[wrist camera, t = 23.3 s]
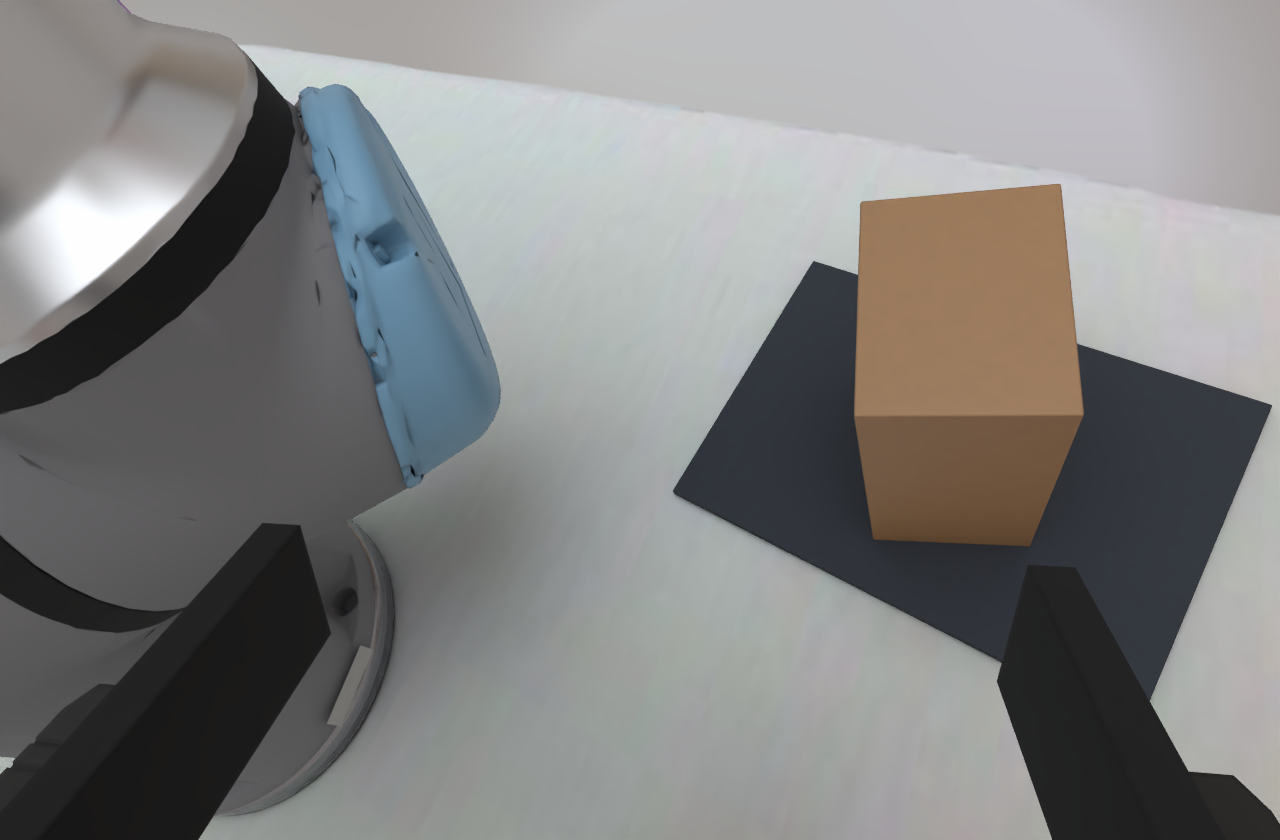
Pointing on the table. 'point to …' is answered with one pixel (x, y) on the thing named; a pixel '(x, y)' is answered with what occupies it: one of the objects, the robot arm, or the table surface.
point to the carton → (964, 363)
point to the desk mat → (978, 573)
